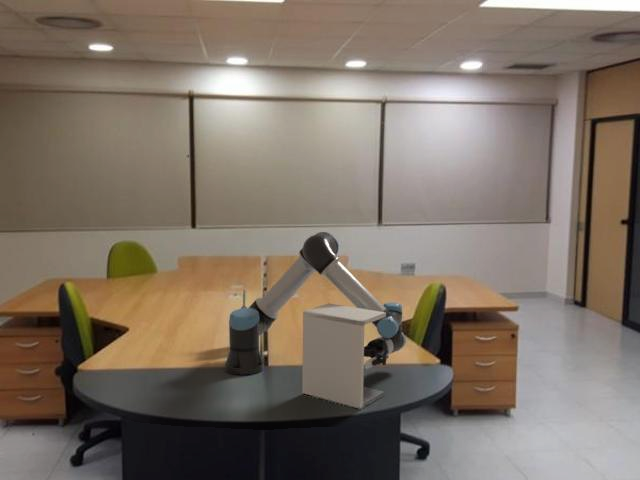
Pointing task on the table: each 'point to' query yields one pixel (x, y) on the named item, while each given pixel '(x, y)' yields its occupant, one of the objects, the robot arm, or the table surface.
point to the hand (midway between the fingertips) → (349, 361)
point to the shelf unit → (336, 353)
